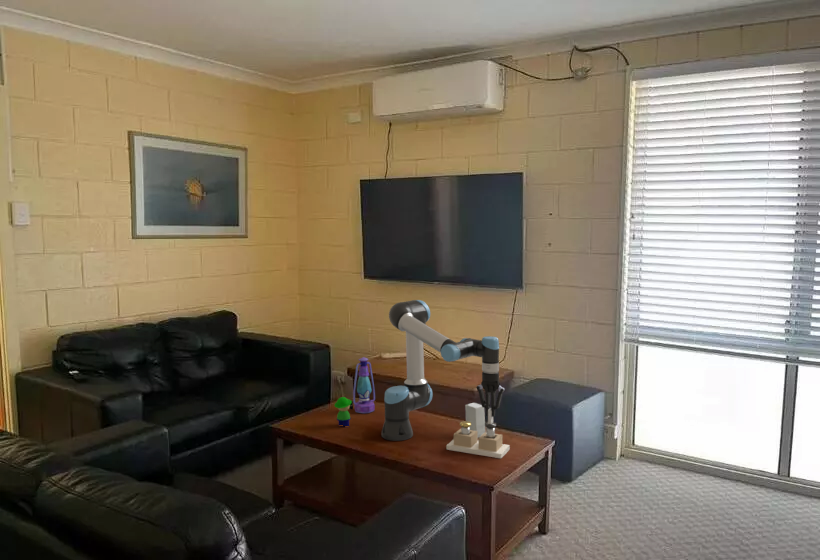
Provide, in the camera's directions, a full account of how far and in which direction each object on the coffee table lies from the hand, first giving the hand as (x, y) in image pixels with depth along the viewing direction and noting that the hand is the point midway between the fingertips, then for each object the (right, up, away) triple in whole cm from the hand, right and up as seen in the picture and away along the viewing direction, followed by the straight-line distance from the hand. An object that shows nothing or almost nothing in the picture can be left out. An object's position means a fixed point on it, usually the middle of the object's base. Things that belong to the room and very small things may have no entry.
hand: (490, 423), depth 280 cm
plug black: (0, -10, +1) cm, 10 cm away
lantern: (-61, -8, +64) cm, 89 cm away
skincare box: (-4, -11, +24) cm, 26 cm away
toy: (-70, -11, +40) cm, 81 cm away
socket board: (-5, -13, +4) cm, 14 cm away
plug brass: (-11, -10, +6) cm, 16 cm away
